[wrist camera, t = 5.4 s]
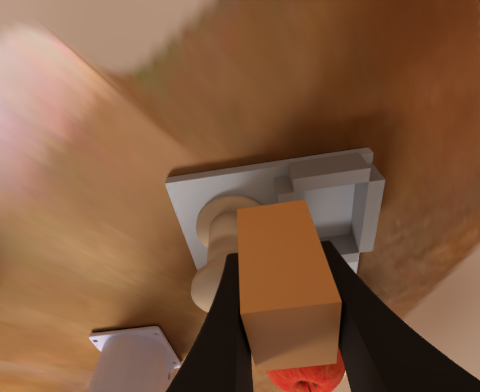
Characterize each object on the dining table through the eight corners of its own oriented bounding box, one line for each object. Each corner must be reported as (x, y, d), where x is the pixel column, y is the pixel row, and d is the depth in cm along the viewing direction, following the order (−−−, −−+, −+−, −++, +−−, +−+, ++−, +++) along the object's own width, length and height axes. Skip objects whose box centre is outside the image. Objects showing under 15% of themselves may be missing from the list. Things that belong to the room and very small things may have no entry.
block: (306, 260, 15) (336, 363, 11) (249, 268, 15) (257, 371, 11) (304, 199, 12) (341, 301, 8) (236, 209, 13) (240, 313, 8)
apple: (347, 306, 30) (379, 392, 24) (307, 341, 35) (325, 423, 28) (281, 289, 28) (297, 379, 22) (248, 330, 32) (252, 414, 26)
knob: (273, 245, 23) (284, 313, 18) (205, 253, 24) (199, 323, 19) (266, 189, 20) (278, 255, 15) (188, 200, 20) (175, 268, 15)
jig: (352, 277, 27) (363, 303, 25) (209, 294, 28) (207, 321, 26) (369, 144, 19) (388, 165, 17) (166, 174, 20) (158, 198, 18)
